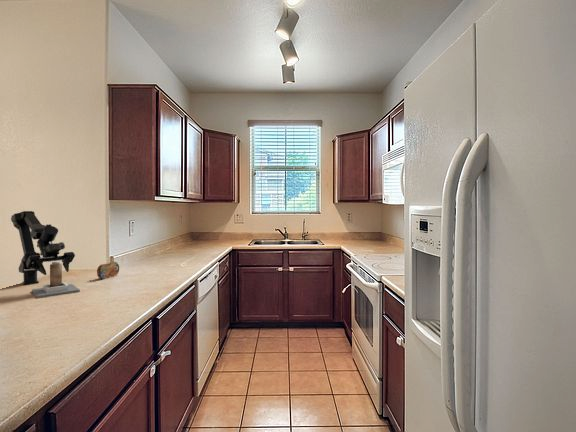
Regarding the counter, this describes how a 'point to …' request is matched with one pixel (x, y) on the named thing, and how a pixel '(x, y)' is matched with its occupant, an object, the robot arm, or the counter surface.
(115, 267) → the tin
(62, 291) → the grey square frame plate
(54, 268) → the mill
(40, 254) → the robot arm
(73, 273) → the counter surface
